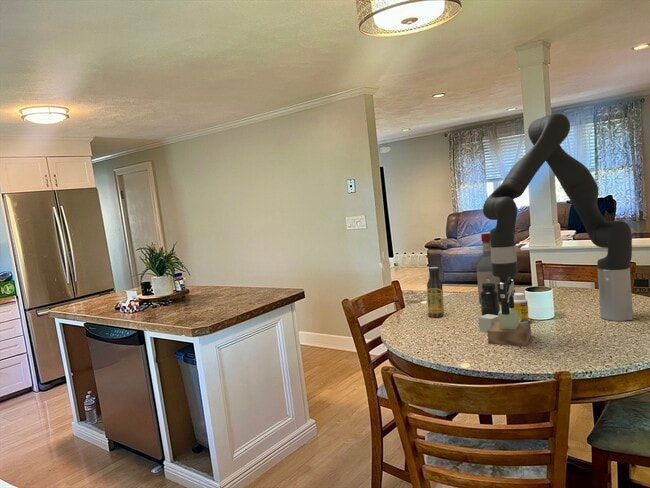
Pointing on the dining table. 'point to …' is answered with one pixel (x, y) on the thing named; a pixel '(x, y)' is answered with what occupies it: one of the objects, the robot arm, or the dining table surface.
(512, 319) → the sage cube
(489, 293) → the supplement bottle
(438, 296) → the sauce bottle
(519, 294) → the supplement bottle
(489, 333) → the walnut block
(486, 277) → the liquor
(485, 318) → the grey cube
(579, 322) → the dining table surface
